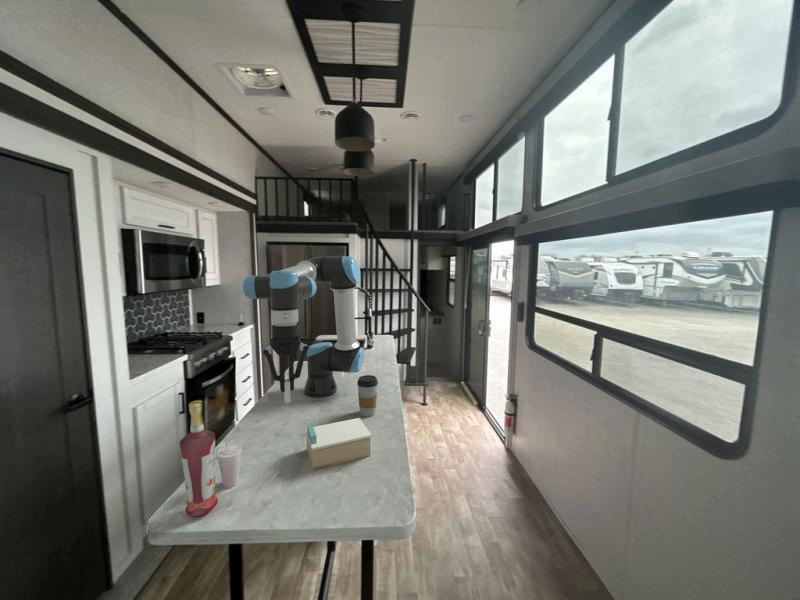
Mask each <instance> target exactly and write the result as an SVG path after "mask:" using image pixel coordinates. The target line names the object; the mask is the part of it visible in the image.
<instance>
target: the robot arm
mask: <svg viewBox="0 0 800 600" xmlns="http://www.w3.org/2000/svg"><path fill="white" fill-rule="evenodd" d="M360 281H361V269H360V265H359V262H358V261H357V259H356V258H355V257H353V256H348V255H347V256H346V255H341V256H340V255H338V256H337V255H336V256H333V255H331V256H326V255H325V256H324V255H322V256H321V255H320V256H315V257H312V258H309V259H305V260H301V261H299V262H298V263H296V265H294V266H290V267H287V268H284V269H280V270H272V271H271V272H270V273H267V274H262V275H257V274H255V275H248V276H247V277H245V279H244V280H243V283H242V291H243V294H244V295H245V297H247V298H248V299H255V300H270V321H271V324H272V325H271V340H270V343H269V345H268V346H267V347H264V348H263V349H262V353H263V355H264V356H265V358H266V359H267V363H268V365H269V369H270V372H271V375H272V378H273V381H275V382H279V391H280V392H281V393H283V395H284V396H283V397H284V399H283V401H284V404H291V402H292V401H291V392H292V391H293V392H294V390H295V380H296V379H299V378H300V377H301V374H302V371H303V365H304V360H305V358H306V361H307V378H306V382H305V385H304V390H303V391H304V395H306V396H307V397H310V398H324V397H325V398H326V397H331V396H332V395H334V394H335V393H336V392H337V390H338V389H337V388H338V386H337V382H336V380H335V378H334V372H336V373H349V374H351V373H354V374H355V373H359V372H360V371H361V370H362V366H363V363H364V359H365V348H364V347H361V344H360V342H359V341H358V340H357V334H356V333H357V331H356V315H355V314H356V313H355V298H354V297H355V296H354V291H355V289H356V288H357V284H359V283H360ZM319 283H320V284H322V283H323V284H329V289H330V290H331V291H333V299H334V301H333V302H334V316H335V328H336V340H337V341H336V342H335V343H334V344H333V343H332V342H331V341H330V342H329V341H325V342H318V343H313V344H312V345H309V346H308V345H307V344H306V343H305V344H304V343H303V342H302V341H301V339H300V327H299V326H300V325H299V324H298V323H299V301H303V300H304V301H305V300H308V299H310V298H312V297H314V296H315V294H316V292H317V284H319ZM333 345H334V346H333ZM298 349H299V354H298V359H297V363H296V367H295V368H294V364H295V363H294V358H295V357H294V355H295V353H296V351H297V350H298ZM272 350H273V351H274V352H275V353H276V354H277V356H278V360H279V361H278V365H279V368H278V369H279V371H278V372H279V375H278V373H277V370H276V367H275V363H274V360H273V357H272V353H273V351H272ZM285 356H287V359H288V361H287V362H288V364H287V365H288V378H286V377H285V375H286V374H285V373H286V372H285ZM305 356H306V357H305ZM294 369H295V370H294Z"/></svg>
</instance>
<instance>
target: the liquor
mask: <svg viewBox="0 0 800 600" xmlns="http://www.w3.org/2000/svg"><path fill="white" fill-rule="evenodd" d="M188 410H189V414H190V424H189V425H190V426H189V427H190V429H189V431H190V432H189V433H187V434H186V435H185V436H184V437H182V439H181V440H180V441H179V448H180V457H181V465H182V471H183V477H184V482H185V483H184V484H185V492H186V493H185V494H186V503H187V506H186V509H185V513H186V514H187V515H188V516H192V517H202V516H205V515H206V514H207V515H208V514H209V512H211V511H212V510H213V509H214V508H215V507H216V506H217V504H218V502H219V499H218V497H217V495H216V434H215V432H213V431H211V430H208V429H205V427H204V420H203V415H202V412H203V401H202V400H201V399H198V400H193V401H190V402H189V403H188Z"/></svg>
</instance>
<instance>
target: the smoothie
mask: <svg viewBox="0 0 800 600" xmlns="http://www.w3.org/2000/svg"><path fill="white" fill-rule="evenodd" d="M224 437H225V438H224V441H225V446H224V447H222V448H220V449H219V450H218V451H217V452H215V459H216V460H217V461H218V466H219V471H220V472H219V473H220V475H221V480H222V484H223V485H222V486H223V487H224V488H225V489H231V488H234V487H236V486H237V485H238V484H239V478H240V476H239V475H240V467H241V457H242V456H241V455H242V453H243V448H242V446H241V445H238V444H230V445H229V441H228V439H229V438H228V437H229V436H228V435H225V436H224Z"/></svg>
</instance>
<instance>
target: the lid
mask: <svg viewBox="0 0 800 600" xmlns="http://www.w3.org/2000/svg"><path fill="white" fill-rule="evenodd" d="M304 429H305V430H304V431H305V434H306V435H307V437H306V439H307V438H308V441H309V444H310V447H311V450H312V451H314V450H318V449H323V448H327V447H332V446H336V445H340V444H345V443H349V442H353V441H358V440H362V439H367V438H370V439H371V438H372V436H373V435H372V434H371V432H370V430H369V429H368V428H367V426H366V425H365V424H364V422H363V421H362V420H361V417H358V418H352V419H347V420H342V421H337V422H332V423H327V424H322V425H321V424H320V425H317V426H313V424H312V423H310V424H306V428H304Z"/></svg>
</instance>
